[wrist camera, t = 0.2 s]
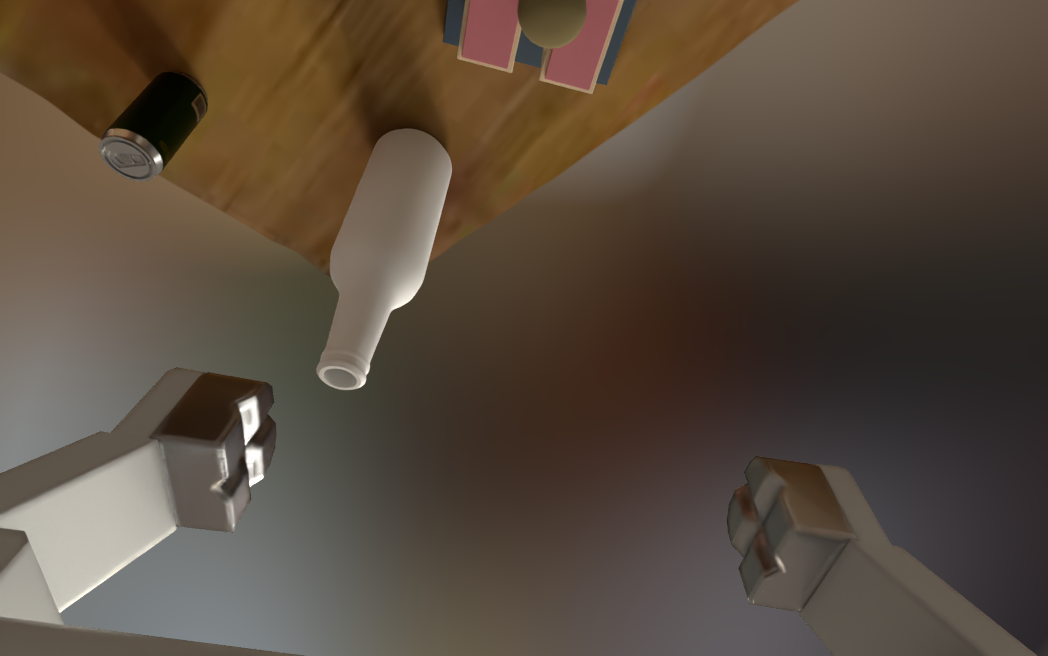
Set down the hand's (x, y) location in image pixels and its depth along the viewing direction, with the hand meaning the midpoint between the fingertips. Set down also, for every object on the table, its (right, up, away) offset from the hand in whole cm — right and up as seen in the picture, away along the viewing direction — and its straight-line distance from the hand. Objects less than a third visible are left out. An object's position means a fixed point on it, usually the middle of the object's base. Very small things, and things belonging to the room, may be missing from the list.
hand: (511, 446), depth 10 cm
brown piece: (+3, +33, +41) cm, 53 cm away
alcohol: (-12, +21, +58) cm, 63 cm away
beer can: (-36, +27, +54) cm, 70 cm away
